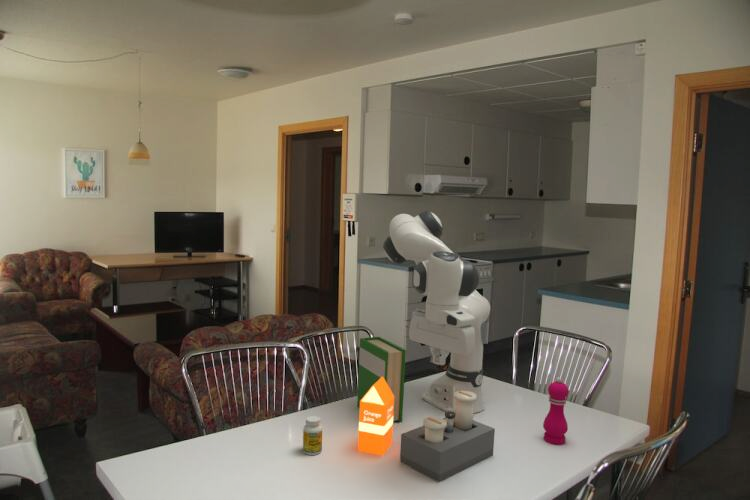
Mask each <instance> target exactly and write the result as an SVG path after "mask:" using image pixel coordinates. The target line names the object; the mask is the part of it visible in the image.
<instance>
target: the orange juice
mask: <svg viewBox="0 0 750 500" xmlns="http://www.w3.org/2000/svg"><path fill="white" fill-rule="evenodd" d="M393 411H394V395H393V393H392V392H391V390H390V388H389V386H388V385H387V383H386V381H385V379H384V378H383V376H382V377H381V378H380V379H379V380H378V381H377V382H376V383H375V384H374V385H373V386H372V387H371V388H370V390H369V391H368V392H367V393H366V395H365V396H364V397H363V398H362V400H361V401H360V408H359V414H358V415H359V416H358V417H359V418H358V437H357V438H358V441H357V442H358V443H357V451H358V452H362V453H367V454H372V455H377V456H384V455H385V453H386V452H387V450H388V449H389V448H390V447H391V445H392V444H393V429H394V428H393V427H394V421H393Z"/></svg>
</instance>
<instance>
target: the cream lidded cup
mask: <svg viewBox="0 0 750 500" xmlns="http://www.w3.org/2000/svg"><path fill="white" fill-rule="evenodd" d="M454 398H455V399H456V410H455V412H454V413H455V414H456V415H455V426H454V427H455V428H458V429H460V430H463V431H465V432H466V431H468V430H470V429H472V421H473V420H474V419H473V417H474V413H473V406H474V401H476V398H477V395H476V394H475V393H473V392H470V391H456V392H454Z"/></svg>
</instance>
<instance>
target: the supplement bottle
mask: <svg viewBox="0 0 750 500" xmlns="http://www.w3.org/2000/svg"><path fill="white" fill-rule="evenodd" d="M302 430H303V432H302V452H303V453H304V454H305V455H308V456H316V455H318V454H321V452H322V451H323V450H322V449H323V426H322V424H321V418H320V417H319V416H316V415H311V416H307V417H306V418H305V425H304V426H303V429H302Z"/></svg>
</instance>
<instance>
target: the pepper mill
mask: <svg viewBox="0 0 750 500" xmlns="http://www.w3.org/2000/svg"><path fill="white" fill-rule="evenodd" d="M569 391H570V389H569V387H568V385H567V384H566V383H564V382H563V378H562V377H559V376H557V377H556V379H555V381H553V382H551V383H550V384H549V385H548V388H547V392H548V394H549V397H548V398H549V399H548V402H549V404H550V405H549V410H548V413H547V414H546V417H545V418H544V421H543V424H542V425H543V426H542V427H543V429H544V431H545V432H544V433H543V440H544V441H545V442H547V443H549V444H552V445H563V444H565V442H566V433H567V432H568V429H569V428H568V427H569V426H568V421H567V418H566V416H565V412H564V411H565V410H564V407H565V405H566V404H567V398H566V397H568V395H569V393H570V392H569Z"/></svg>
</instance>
